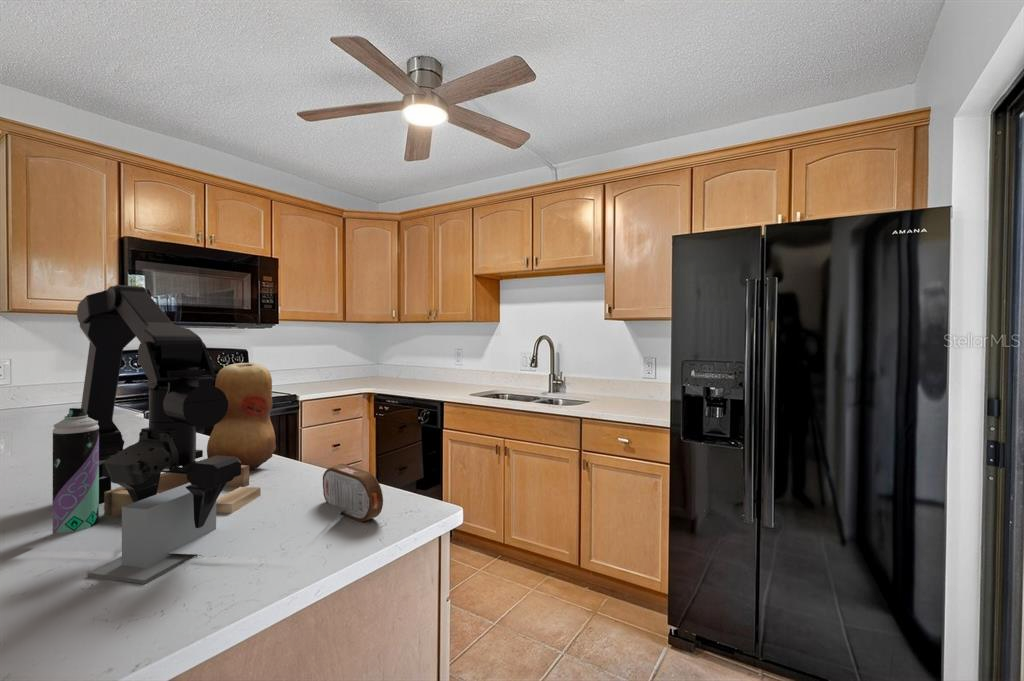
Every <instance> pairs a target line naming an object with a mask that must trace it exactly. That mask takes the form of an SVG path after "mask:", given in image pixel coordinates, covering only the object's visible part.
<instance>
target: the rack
mask: <svg viewBox="0 0 1024 681" xmlns="http://www.w3.org/2000/svg"><path fill="white" fill-rule="evenodd" d="M187 483H190V482H189V481H188V479H187V474H178V473H166V472H162V473H161V475H160V480H159V485H158V490H157V494H159V493H162V492H165V491H168V490H170V489H173V488H176V487H179V486H181V485H184V484H187ZM249 485H250V470H249V466H247V465H241V475H239V476H236V477H234V479H233V480H232V481H229V482H227V483H226V485H225V487H226V486H227V487H236V488H239V487H249ZM103 502H104V505H103V506H104V508H103V512H104V514H103V515H104V516H106V517H108V516H109V517H116V518H117V517H118V518H122V507H123V506H126V505H129V504H132V503H133V501H132V498H131V496H130V495H129V493H128V491H127V489H126V488H124V487H122V486H120V487H115V488H113V489H111V490H109V491H106V492H104V501H103Z"/></svg>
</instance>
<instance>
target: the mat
mask: <svg viewBox="0 0 1024 681" xmlns="http://www.w3.org/2000/svg"><path fill="white" fill-rule="evenodd" d="M172 554H173V555H171V556H169V557H167V558H165V559H164V560H162V561H160V562H158V563H156V564H154V565H152V566H150V567H148V568H140V567H132V566H124V565H122V556H120V557H118V558H115V559H114V560H111V561H109V562H107V563H105V564H103V565H100V566H98V567H97V568H94V569H92V570H90V571H87V573H86V575H87V577H90V578H97V579H105V580H113V581H120V582H126V583H133V584H140V583H141V585H146V584H147V583H149V582H151V581H153V580H155V579H157V578H159V577H160V576H162V575H164V574H166V573H167V572H170V571H171V570H173V569H175V568H176V567H178V566H180V565H182V564H184V563H185V562H187V561H190V560H191V559H192V558H193V559H194V558H195V557H196V556H198V554H194V553H193V554H192V553H189V554H187V553H172Z"/></svg>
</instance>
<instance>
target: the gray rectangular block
mask: <svg viewBox="0 0 1024 681" xmlns="http://www.w3.org/2000/svg"><path fill="white" fill-rule="evenodd" d="M189 485H192V484H191V483H187V484H184V485H181V486H179V487H176V488H173V489H170V490H168V491H165V492H162V493H159V494H157V495H154V496H151V497H148V498H146V499H143V500H140V501H137V502H135V503H132V504H129V505H126V506H123V507H122V517H121V557H122V565H124V566H132V567H140V568H148V567H150V566H152V565H154V564H156V563H158V562H160V561H162V560H164V559H165V558H167V557H169V556H171V555H173V554H174V553H171V552H173V551H175V550H177V549H179V548H181V547H184V546H185V545H187V544H189V543H191V542H194V541H195V540H197V539H199V538H202V537H203V536H205V535H207V534H209V533H211V532H213V531H215V530H216V529H217V513H216V502H215V504H214V506H213V508H212V510H211V512H210V514H209V516H208V518H207V520H206V522H205V523H204V525H203V526H202V527H200V528H195V522H194V503H193V494H192V493H191V492H190V491H189V490H188V489H186V486H189Z"/></svg>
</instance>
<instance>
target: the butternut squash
mask: <svg viewBox="0 0 1024 681" xmlns="http://www.w3.org/2000/svg"><path fill="white" fill-rule="evenodd" d="M271 374H272V373H270V370H269V368H267V367H266V366H264V365H262V364H260V363H255V362H238V363H232V364H228V365H225V366H224V367H222V368H220V369H219V371H218V373H216V379H215V383H214V387H217V388H219V389H220V390H222V391H223V392H224V394H225V395H226V398H227V400H228V410H227V413H226V415H225V416H224V418H223V419H222V420H221V421H220V422H219V423H217V424H215V425H214V426H213V428H212V431H211V433H210V435H209V438H208V440H207V445H206V456H207V458H210V457H213V456H216V455H219V456H232V457H237V458H238V459H239V460H240V461H241V465H247V466H249V471H254V470H255V469H257V468H259V467H260V466H262V465H263V464H264V463H266V462H267V461H269V460H270V459H271V458H272V457H273V454H274V452H275V451H276V450H277V445H276V434H275V433H276V432H275V429H274V426H273V423H272V421H271V415H270V414H271V410H272V409H273V392H272V391H273V379H272V375H271Z"/></svg>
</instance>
